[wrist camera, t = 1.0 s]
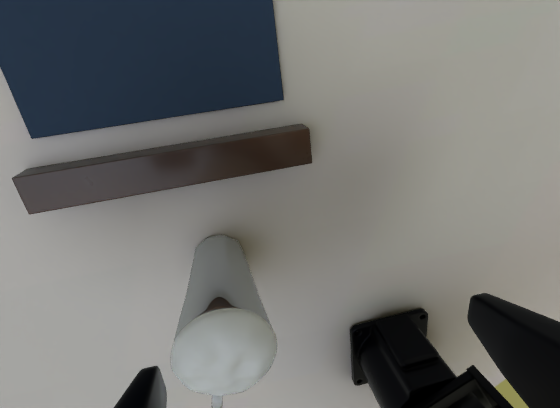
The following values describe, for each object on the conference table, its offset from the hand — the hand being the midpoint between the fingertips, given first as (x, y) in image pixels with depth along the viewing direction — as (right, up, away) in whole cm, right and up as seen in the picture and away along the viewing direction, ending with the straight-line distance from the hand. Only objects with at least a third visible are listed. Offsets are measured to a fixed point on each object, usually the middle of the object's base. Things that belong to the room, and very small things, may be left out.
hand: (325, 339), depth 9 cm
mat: (-8, +12, +7) cm, 16 cm away
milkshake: (-5, 0, +13) cm, 14 cm away
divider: (-7, +6, +10) cm, 13 cm away
